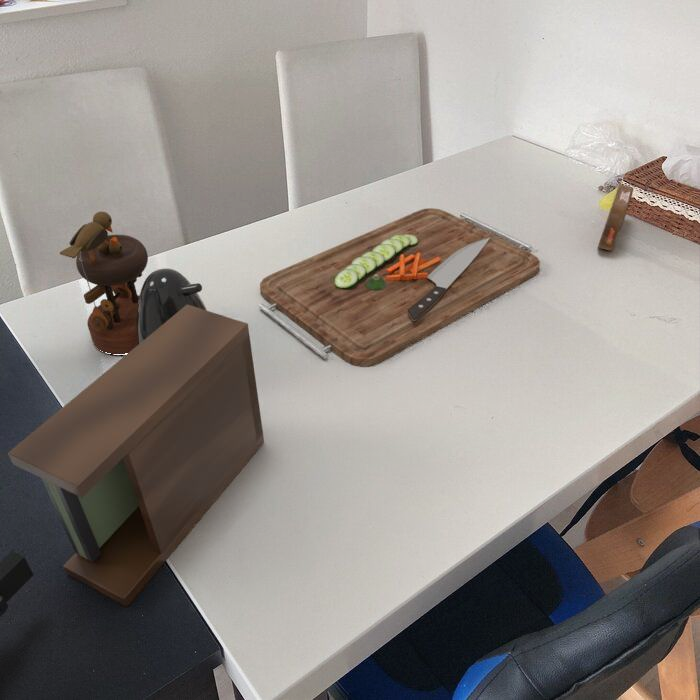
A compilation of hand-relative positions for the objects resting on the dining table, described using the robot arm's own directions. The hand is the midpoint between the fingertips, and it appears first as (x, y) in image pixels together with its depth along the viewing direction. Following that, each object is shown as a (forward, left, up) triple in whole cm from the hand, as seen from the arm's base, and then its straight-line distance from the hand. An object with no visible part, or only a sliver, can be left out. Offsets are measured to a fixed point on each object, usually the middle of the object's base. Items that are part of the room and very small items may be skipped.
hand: (23, 563), depth 60 cm
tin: (+34, +96, -8) cm, 103 cm away
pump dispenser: (-12, +35, -8) cm, 38 cm away
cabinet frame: (+2, +15, -8) cm, 17 cm away
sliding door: (0, +11, -6) cm, 12 cm away
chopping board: (+7, +69, -8) cm, 69 cm away
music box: (-24, +38, -8) cm, 46 cm away
